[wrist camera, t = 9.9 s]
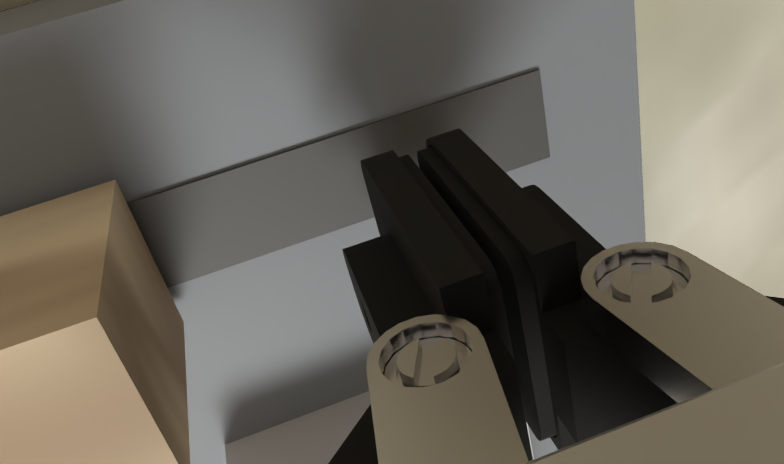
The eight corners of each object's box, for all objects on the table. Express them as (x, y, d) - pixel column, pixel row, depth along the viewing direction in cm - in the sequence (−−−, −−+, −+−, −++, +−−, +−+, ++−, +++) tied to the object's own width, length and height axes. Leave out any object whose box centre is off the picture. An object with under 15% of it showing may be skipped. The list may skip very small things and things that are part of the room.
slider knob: (183, 321, 13) (190, 487, 10) (18, 379, 13) (-33, 572, 9) (115, 179, 12) (96, 316, 8) (-74, 240, 11) (-175, 410, 8)
